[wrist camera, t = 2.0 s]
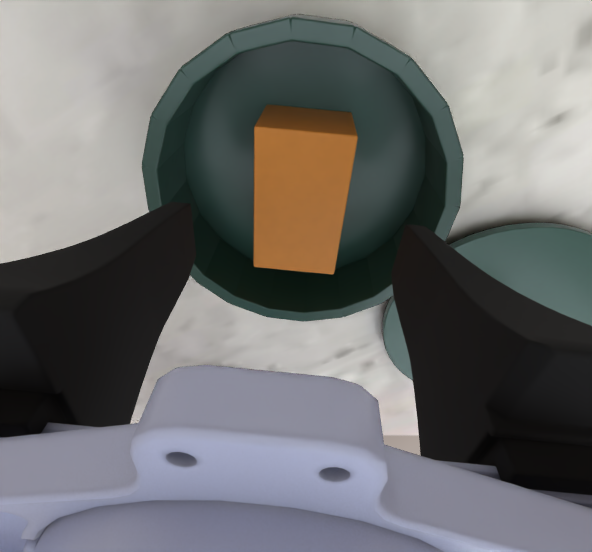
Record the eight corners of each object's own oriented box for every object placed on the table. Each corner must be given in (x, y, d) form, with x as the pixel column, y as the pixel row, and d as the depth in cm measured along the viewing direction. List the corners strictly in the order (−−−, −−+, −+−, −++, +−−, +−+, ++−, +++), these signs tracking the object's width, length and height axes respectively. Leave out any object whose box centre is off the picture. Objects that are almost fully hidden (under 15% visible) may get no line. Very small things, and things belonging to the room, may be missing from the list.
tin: (351, 303, 22) (356, 350, 19) (152, 225, 19) (122, 265, 16) (499, 106, 15) (542, 132, 12) (217, -56, 12) (184, -74, 9)
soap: (332, 235, 19) (334, 275, 16) (263, 229, 19) (253, 267, 16) (352, 111, 15) (358, 136, 12) (266, 103, 15) (253, 126, 12)
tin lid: (499, 402, 27) (527, 466, 23) (342, 345, 24) (346, 407, 20) (679, 276, 19) (765, 341, 16) (481, 172, 17) (527, 222, 13)
